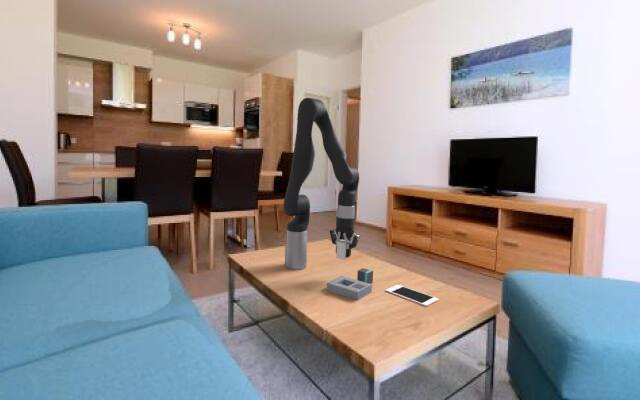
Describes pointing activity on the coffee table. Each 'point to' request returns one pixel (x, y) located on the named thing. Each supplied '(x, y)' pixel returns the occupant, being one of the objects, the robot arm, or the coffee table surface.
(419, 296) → the cell phone
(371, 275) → the grey and blue block
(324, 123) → the robot arm
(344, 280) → the outlet
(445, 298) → the coffee table surface
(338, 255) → the block
